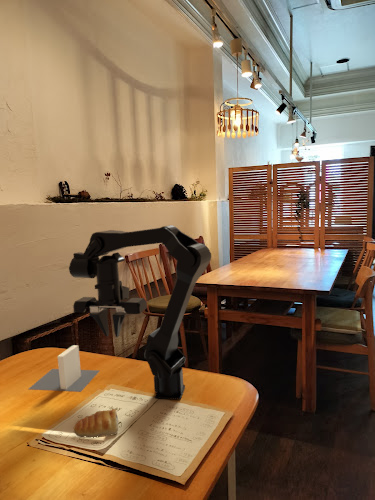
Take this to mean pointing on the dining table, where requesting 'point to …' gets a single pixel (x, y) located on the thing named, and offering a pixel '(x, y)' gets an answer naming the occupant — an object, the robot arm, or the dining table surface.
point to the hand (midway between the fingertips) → (112, 336)
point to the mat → (53, 381)
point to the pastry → (97, 424)
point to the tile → (69, 366)
